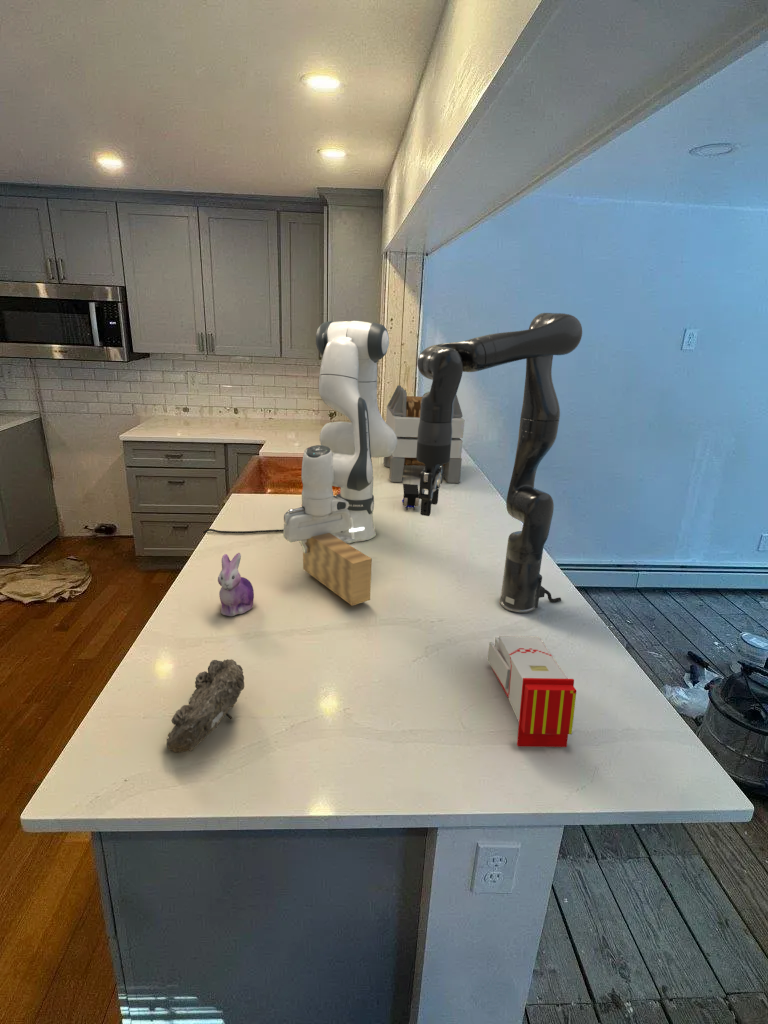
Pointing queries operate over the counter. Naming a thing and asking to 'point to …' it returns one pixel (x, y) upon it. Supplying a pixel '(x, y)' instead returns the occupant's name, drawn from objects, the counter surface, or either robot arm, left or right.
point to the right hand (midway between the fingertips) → (429, 509)
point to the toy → (534, 690)
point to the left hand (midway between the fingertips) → (317, 549)
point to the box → (339, 567)
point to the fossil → (206, 705)
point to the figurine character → (410, 496)
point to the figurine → (234, 588)
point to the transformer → (405, 425)
